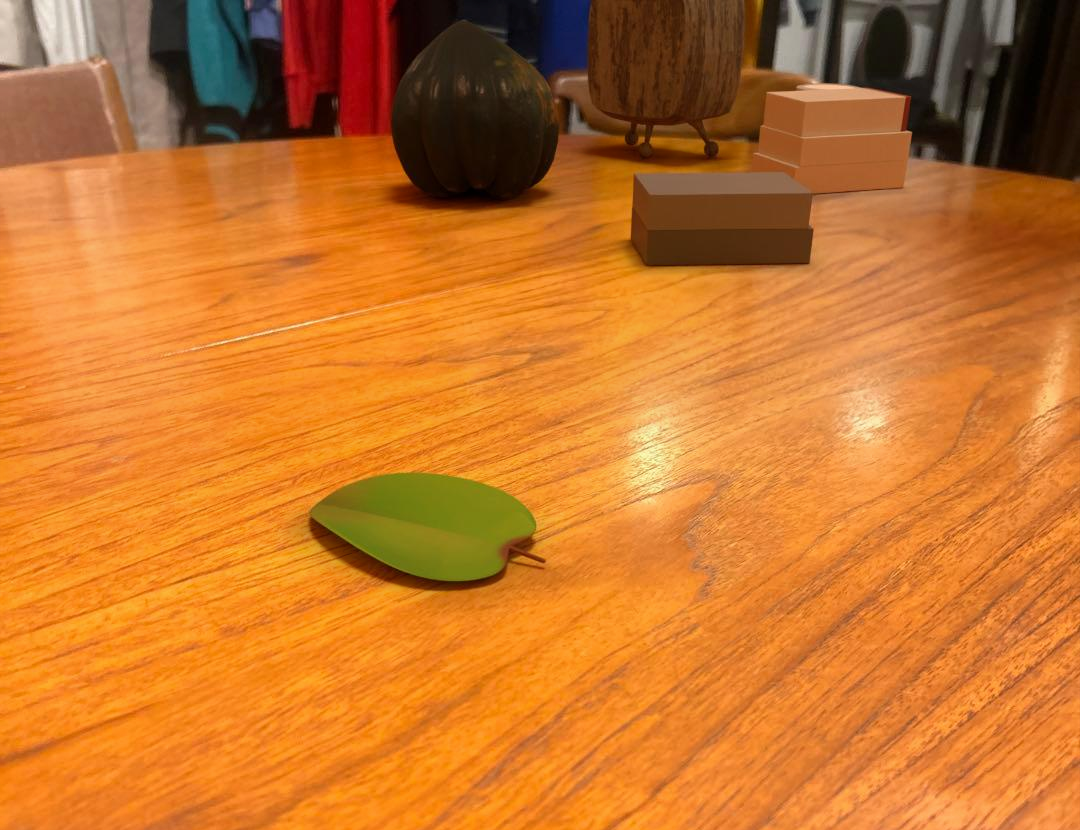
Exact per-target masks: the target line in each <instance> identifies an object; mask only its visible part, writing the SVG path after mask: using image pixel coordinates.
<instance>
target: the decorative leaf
mask: <svg viewBox="0 0 1080 830" xmlns="http://www.w3.org/2000/svg"><path fill="white" fill-rule="evenodd" d="M308 514H309V516H310V517H311V519H313V520H315V521H316V522H317V523H319V524H320V525H322V526H323V527H325V528H326V529H327V530H329V531H331V532H332V533H333V534H335V535H337V536H338V537H340V538H341V539H343V540H344V541H346V542H347V543H349V544H350V545H352V546H354V547H355V548H357V549H358V550H360V551H362V552H364V553H365V554H367V555H369V556H370V557H372V558H374V559H376V560H378V561H379V562H381V563H383V564H386V565H388V566H390V567H392V568H394V569H396V570H399V571H400V572H401V571H402V572H404V573H407V574H409V575H412V576H416V577H420V578H424V579H429V580H434V581H435V580H436V581H443V582H468V581H475V580H482V579H486V578H489V577H492V576H494V575H496V574H498V573H499V572H501V571H502V570H503V569H504V568H505V567H506V566H507V562H508V559H509V554H510V553H509V552H512V553H514V554H517V555H519V556H523V557H525V558H528V559H529V560H530V559H531V560H533V561H535V562H538V563H540V564H546V562H547V560H546V559H545V558H544V557H541V556H538V555H535V554H533V553H531V552H529V551H526V550H522V549H520V548H518V547H516V546H517V545H519V544H521V543H523V542H525V541H527V540H528V539H529V538H531V537H532V536H533V535H534V534H535V533H536V531H537V521H536V520H535V517H534V515H533V514H532V513H531V511H530V510H529V508H527V506H526V505H525V504H523V502H522V501H520V500H519V499H517V498H516V497H515V496H513V495H512V494H510V493H508V492H506V491H504V490H503V489H502V490H501V489H499V488H497V487H495V486H492V485H490V484H487V483H483V482H481V481H478V480H477V481H476V480H474V479H473V480H472V479H468V478H464V477H459V476H453V475H450V474H449V475H448V474H441V473H440V474H439V473H431V472H430V473H429V472H395V473H385V474H380V475H375V476H369V477H366V478H363V479H359V480H356V481H353V482H351V483H348V484H346V485H343V486H342V487H340V488H337V489H336V490H334V491H333V492H331V493H329V494H328V495H326V496H325V497H323V498H322V499H321V500H320V501H318V502H317V503H316V504H314V505H313V506H312V507H311V508H310V510H309V512H308Z"/></svg>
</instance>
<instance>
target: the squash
mask: <svg viewBox="0 0 1080 830" xmlns="http://www.w3.org/2000/svg"><path fill="white" fill-rule="evenodd" d="M390 128H391V137H392V142H393V147H394V150H395V153H396V155H397V158H398V160H399V162H400V165H401V167H402V170H403V172H404V173H405V175H406V176H407V179H409V181H410V182H411V183H412V185H413V186H414V187H416V188H417V189H418V190H419V191H421V192H422V193H424V194H426V195H428V196H431V197H435V198H450V197H454V196H456V195H457V194H460V193H465V192H467V191H468V190H470V189H471V187H472V188H473V189H475V190H486V192H487V194H489V196H492V197H493V198H495V199H498V200H501V201H508V200H511V199H514V198H517V197H519V196H520V195H522V194H523V193H524V192H525V191H527V190H529V189H531V188H533V187H535V186H537V184H539V183H540V182H541V181H542V180H543V179H544V178H545V177H546V175H548V172H549V171H550V169H551V167H552V165H553V163H554V160H555V156H556V152H557V148H558V145H559V136H560V135H559V133H560V115H559V111H558V106H557V103H556V100H555V97H554V95H553V92H552V90H551V88H550V86H549V84H548V82H547V80H546V78H545V77H544V76H543V75H542V74H541V72H539V70H538V69H536V67H535V66H533V65H532V64H531V62H529V61H528V60H527V59H525V57H523V56H521V54H519V53H518V52H517V51H515V50H514V49H513V48H511V47H510V46H509V45H507V44H506V43H504V42H503V41H501V40H500V39H498V38H497V37H495V36H494V35H493V34H491V33H490V32H488V31H486V30H485V29H483V28H482V27H481V26H478V25H476V24H474V23H473V22H469V21H468V20H466V19H462V20H459V22H455V23H454V24H451V25H449V26H448V27H447V28H446V29H444V30H443V31H442V32H441V33H440V34H438V35H437V36H436V37H435V38H434V39H433V40H432V41H431V42H429V44H428V45H427V46H426V47H425V48H423V49H422V51H420V52H419V54H417V55H416V57H415V58H414V59H413V60H412V62H411V63H410V65H408V68H407V69H406V71H405V72H404V74H403V76H402V77H401V79H400V81H399V83H398V86H397V90H396V93H395V96H394V99H393V104H392V109H391V116H390Z"/></svg>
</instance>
